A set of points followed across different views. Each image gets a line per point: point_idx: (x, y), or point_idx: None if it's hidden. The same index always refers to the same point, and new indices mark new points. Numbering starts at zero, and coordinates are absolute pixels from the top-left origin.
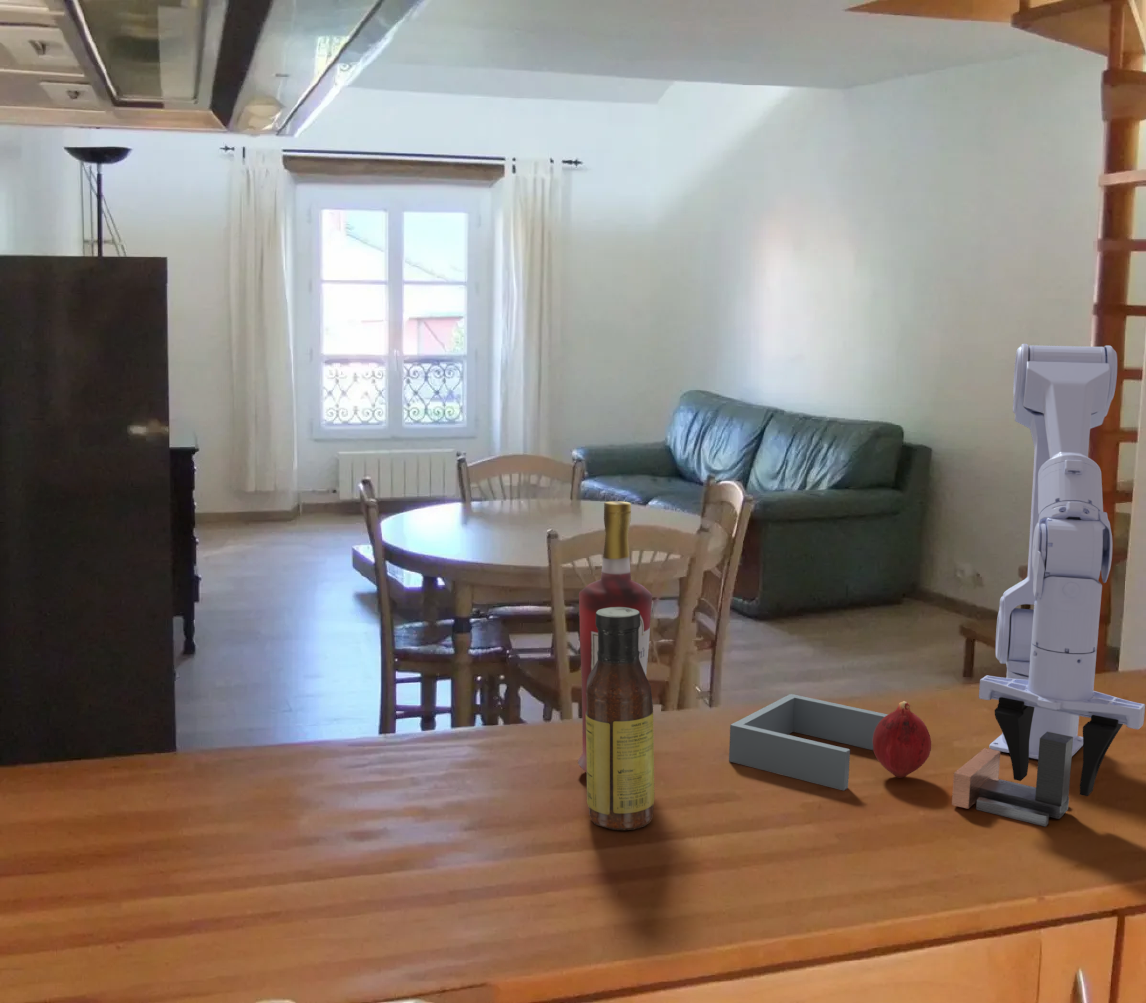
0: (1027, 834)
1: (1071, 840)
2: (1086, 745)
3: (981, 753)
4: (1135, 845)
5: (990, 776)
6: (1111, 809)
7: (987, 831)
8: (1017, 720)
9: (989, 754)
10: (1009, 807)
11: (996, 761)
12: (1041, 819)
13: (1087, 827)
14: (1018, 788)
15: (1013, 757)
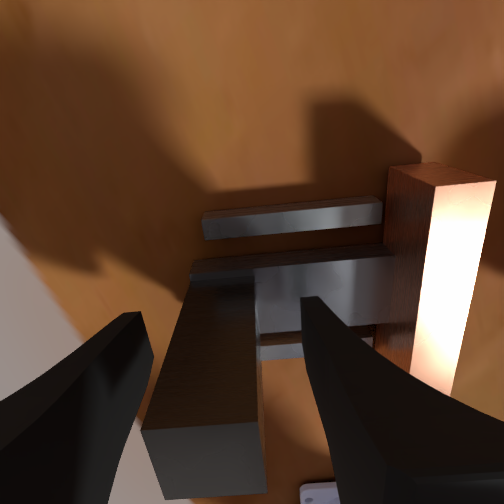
0: (216, 134)
1: (126, 177)
2: (9, 431)
3: (445, 379)
4: (25, 251)
5: (390, 331)
6: (156, 379)
7: (302, 71)
8: (385, 454)
9: None
10: (295, 211)
11: None
12: (214, 215)
13: (141, 272)
14: None
15: (339, 328)
